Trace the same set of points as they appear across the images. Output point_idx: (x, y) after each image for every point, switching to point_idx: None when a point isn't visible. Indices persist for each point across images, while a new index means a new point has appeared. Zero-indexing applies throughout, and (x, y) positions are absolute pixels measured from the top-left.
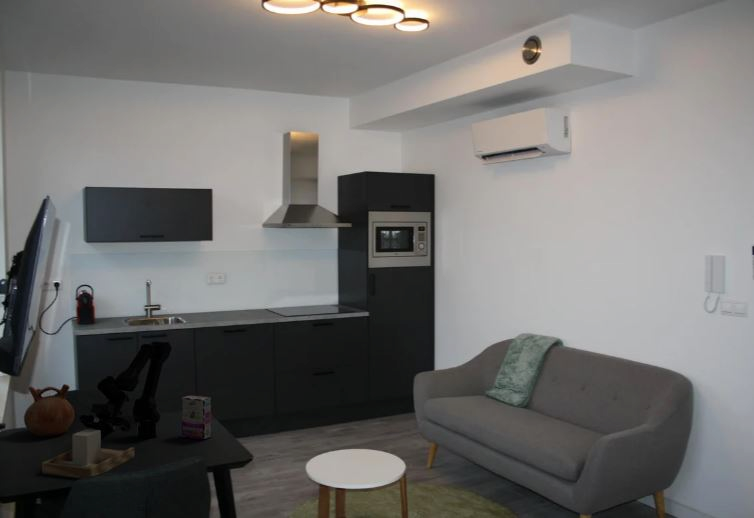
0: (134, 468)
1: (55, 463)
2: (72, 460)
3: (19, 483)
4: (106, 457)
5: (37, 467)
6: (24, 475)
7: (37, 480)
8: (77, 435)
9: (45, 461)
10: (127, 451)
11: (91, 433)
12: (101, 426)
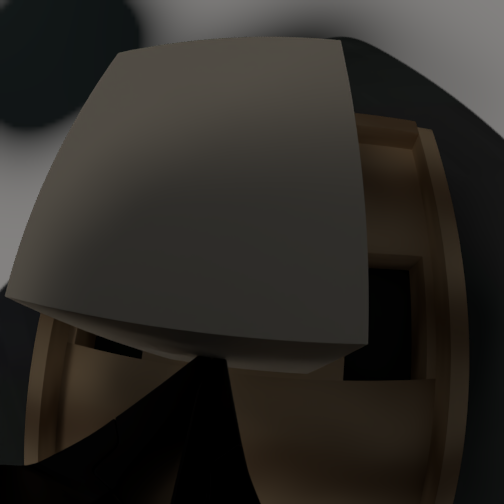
0: (3, 310)
1: (411, 199)
2: (412, 366)
3: (391, 79)
4: (138, 379)
5: (494, 224)
6: (452, 136)
7: (356, 100)
8: (257, 39)
9: (436, 147)
10: (27, 432)
11: (93, 123)
12: (46, 497)
